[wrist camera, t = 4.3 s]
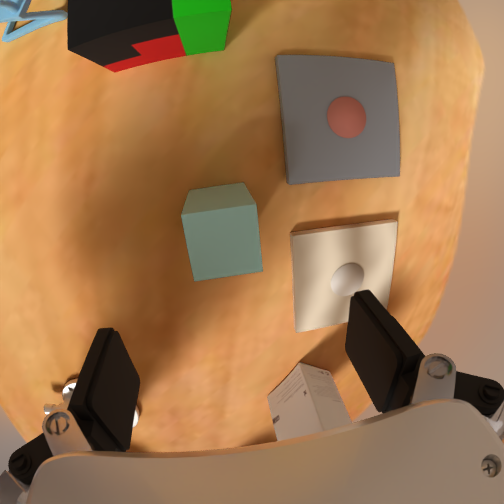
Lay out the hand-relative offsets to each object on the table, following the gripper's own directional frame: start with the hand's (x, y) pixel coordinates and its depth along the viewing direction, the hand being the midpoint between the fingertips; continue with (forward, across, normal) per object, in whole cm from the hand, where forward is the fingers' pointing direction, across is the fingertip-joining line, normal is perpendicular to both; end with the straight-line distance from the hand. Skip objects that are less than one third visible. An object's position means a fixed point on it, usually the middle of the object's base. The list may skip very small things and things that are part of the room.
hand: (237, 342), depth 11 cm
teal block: (+18, 0, 0) cm, 18 cm away
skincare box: (+18, -7, +26) cm, 33 cm away
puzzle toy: (+18, +3, -20) cm, 27 cm away
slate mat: (+18, -12, -8) cm, 23 cm away
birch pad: (+18, -12, +9) cm, 24 cm away
